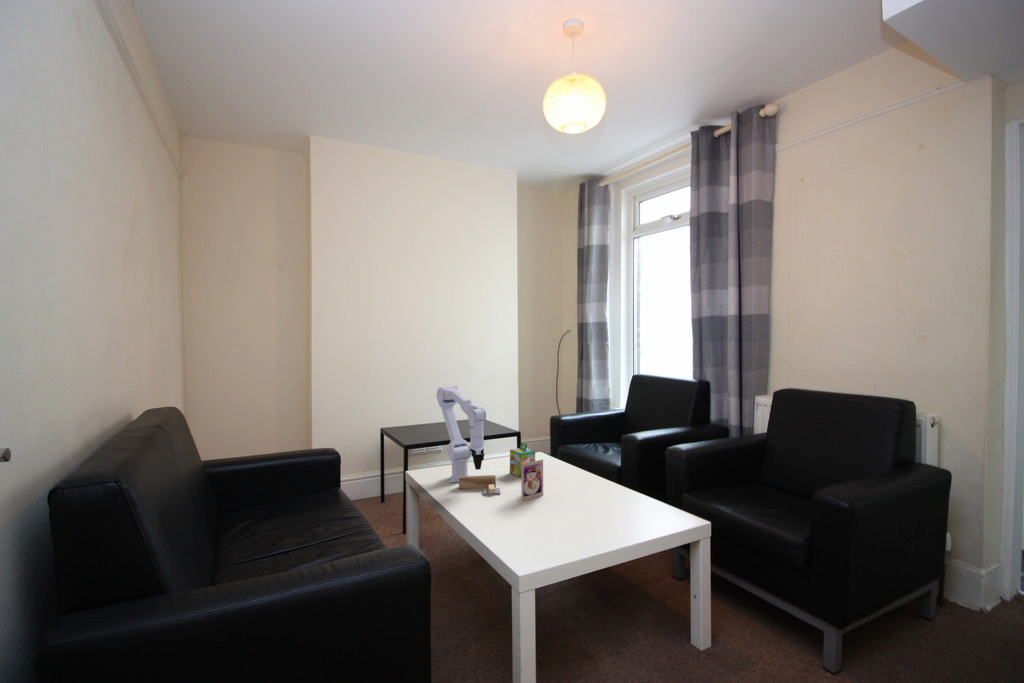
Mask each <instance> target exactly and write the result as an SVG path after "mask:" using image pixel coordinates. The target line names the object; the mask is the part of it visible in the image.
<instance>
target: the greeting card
mask: <svg viewBox="0 0 1024 683" xmlns="http://www.w3.org/2000/svg"><path fill="white" fill-rule="evenodd" d="M520 480H521V482H520V483H521V486H520V487H521V502H524V501H527V500H531V499H534V498H538V497H541V496H544V459H540V460H539V459H538V460H535V461H534V462H530V457H529V458H528V459H527V460H526V461H524V462H523V463H522V464H521V479H520Z"/></svg>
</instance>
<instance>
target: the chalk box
mask: <svg viewBox="0 0 1024 683" xmlns="http://www.w3.org/2000/svg"><path fill="white" fill-rule="evenodd" d="M523 446H524V447H523ZM529 457H530V462H534V461H536V450H535V449H534V450H533V449H532V448H531V449H530V448H528V444H527V443H525V442H520V446H519V448H514V449H513V448H512V449H509V474H512V475H514V476H516V477H518V478H521V464H522V463H523V462H524V461H526V460H527V459H528V458H529Z"/></svg>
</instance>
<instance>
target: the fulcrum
mask: <svg viewBox="0 0 1024 683" xmlns="http://www.w3.org/2000/svg"><path fill="white" fill-rule="evenodd" d="M482 490H483V496H497V495H498V496H500V495H501V490H500V487H496V488H495V487H494V484H490V485H489V488H488V489H482Z"/></svg>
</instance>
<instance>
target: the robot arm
mask: <svg viewBox="0 0 1024 683" xmlns="http://www.w3.org/2000/svg"><path fill="white" fill-rule="evenodd" d="M435 396H436V399H437V403H438V406H439V407H440V408H441V413H442V416H443V419H444V422H445V426H446V429H447V433H448V436H449V439H450V442H449V443H448V445H447V447H446V449H447V456H448V459H449V461H450V462H451V476H450V477H451V479H450V482H451V483H459V476H470V475H469V473H468V461H469V460H470V458H471V457H472V460H473V464H474V468H475V470H482V469H481V468H482V462H483V459H484V457H485V453H482V452H483V449H484V448H485V445H484V442H485V441H484V421H486V418H487V413H486V412H487V411H486V410H485V409H484V407H478V406H477V405H476V404H475V403H474V402H472V400H471V399H466V398H465V397H464V396H463V394H461V389H460V388H459V387H458V386H457V385H454V386H447V387H446V386H444V387H438V388H437V390H436V395H435ZM456 404H458V405H459V406H460V410H461V411H462V412H463V413H464V414H465V415H467V416H466V417H467V420H468V425H469V427H470V429H469V431H470V432H469V433H470V445H469V443H468V441H467V440H465V439H464V438H462V435H461V432H460V428H459V425H458V422H457V418H456V415H455V414H456V413H455V412H454V406H456Z"/></svg>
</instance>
